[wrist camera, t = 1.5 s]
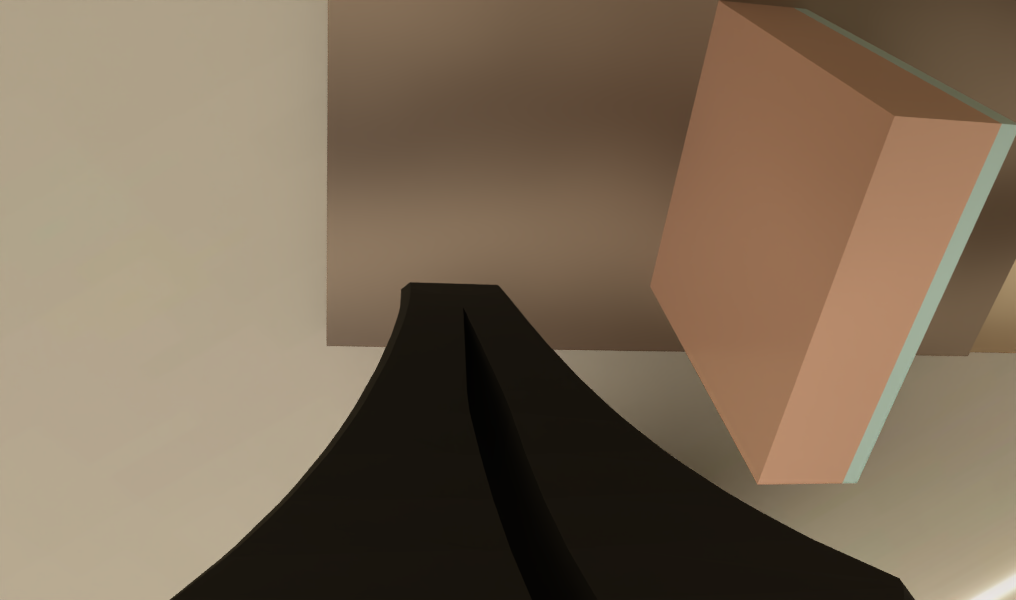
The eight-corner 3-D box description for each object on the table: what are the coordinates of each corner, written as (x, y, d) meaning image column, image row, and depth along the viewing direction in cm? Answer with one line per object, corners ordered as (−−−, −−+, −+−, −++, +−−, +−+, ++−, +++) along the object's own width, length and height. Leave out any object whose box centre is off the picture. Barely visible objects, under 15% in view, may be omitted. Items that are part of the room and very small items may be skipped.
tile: (724, 288, 21) (857, 483, 16) (649, 286, 21) (757, 484, 15) (806, 9, 18) (1020, 125, 12) (718, 0, 17) (895, 115, 12)
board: (1194, 337, 26) (1256, 380, 25) (328, 319, 22) (324, 370, 20) (1434, -25, 21) (1538, -5, 19) (331, -160, 16) (326, -151, 14)
